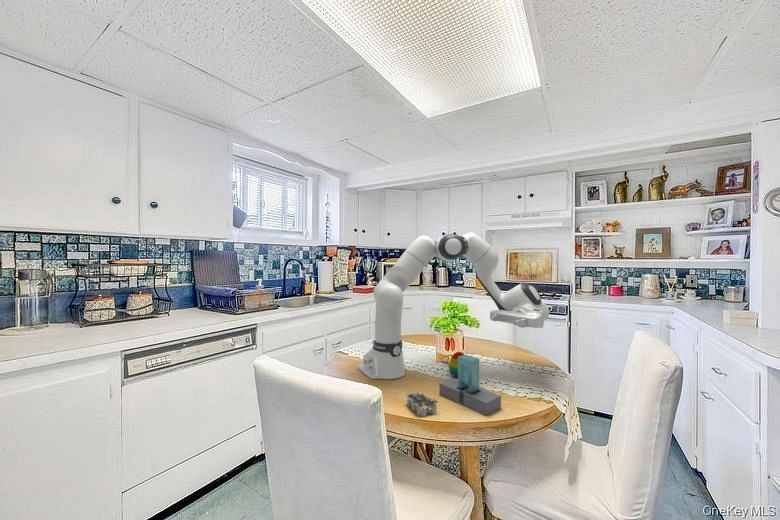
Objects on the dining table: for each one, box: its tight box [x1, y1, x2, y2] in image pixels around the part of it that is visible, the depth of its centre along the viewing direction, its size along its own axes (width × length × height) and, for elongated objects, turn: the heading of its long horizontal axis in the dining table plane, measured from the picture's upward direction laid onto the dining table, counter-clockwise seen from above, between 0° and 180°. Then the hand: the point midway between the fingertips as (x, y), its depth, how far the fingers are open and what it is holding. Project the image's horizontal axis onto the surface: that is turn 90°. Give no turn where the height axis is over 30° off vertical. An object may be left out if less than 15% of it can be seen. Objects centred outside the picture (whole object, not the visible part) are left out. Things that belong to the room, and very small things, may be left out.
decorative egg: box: [448, 351, 465, 379], centre depth 136 cm, size 8×8×10 cm
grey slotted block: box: [438, 377, 502, 416], centre depth 113 cm, size 20×8×4 cm, turn 38°
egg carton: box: [405, 392, 439, 417], centre depth 109 cm, size 11×8×4 cm
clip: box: [457, 354, 480, 395], centre depth 113 cm, size 6×4×15 cm, turn 38°
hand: (503, 320), depth 126 cm, fingers open, 8 cm apart
